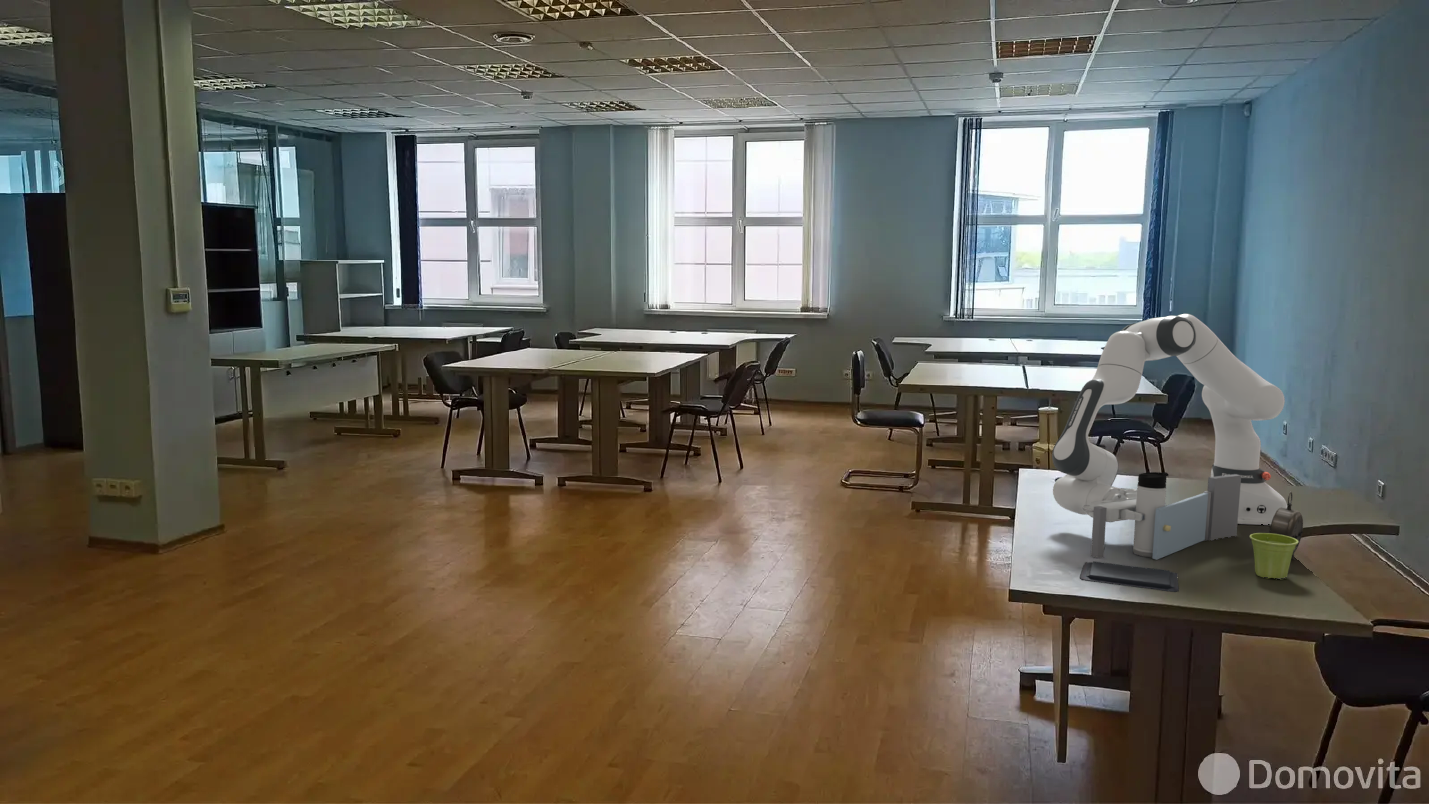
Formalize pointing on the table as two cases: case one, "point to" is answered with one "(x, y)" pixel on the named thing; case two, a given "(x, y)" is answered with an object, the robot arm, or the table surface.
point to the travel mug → (1148, 510)
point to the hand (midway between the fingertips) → (1154, 515)
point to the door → (1181, 524)
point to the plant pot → (1272, 554)
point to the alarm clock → (1288, 523)
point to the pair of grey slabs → (1220, 515)
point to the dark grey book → (1130, 576)
